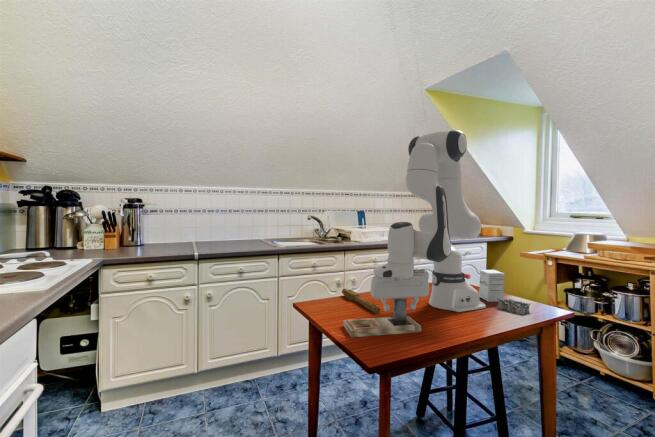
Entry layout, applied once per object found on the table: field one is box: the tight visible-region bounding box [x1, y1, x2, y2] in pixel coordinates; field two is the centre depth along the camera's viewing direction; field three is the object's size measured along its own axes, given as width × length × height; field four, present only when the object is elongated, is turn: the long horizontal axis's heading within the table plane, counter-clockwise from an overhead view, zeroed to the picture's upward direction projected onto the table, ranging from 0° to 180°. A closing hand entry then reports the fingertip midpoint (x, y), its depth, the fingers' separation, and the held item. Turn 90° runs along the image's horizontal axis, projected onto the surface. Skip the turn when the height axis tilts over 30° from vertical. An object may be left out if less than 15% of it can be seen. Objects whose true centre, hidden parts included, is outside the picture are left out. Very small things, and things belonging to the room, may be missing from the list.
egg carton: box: [497, 298, 532, 315], centre depth 136 cm, size 11×8×4 cm
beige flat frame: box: [343, 315, 422, 338], centre depth 115 cm, size 24×10×2 cm, turn 101°
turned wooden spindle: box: [341, 288, 381, 315], centre depth 144 cm, size 3×3×30 cm
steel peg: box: [392, 297, 408, 326], centre depth 116 cm, size 4×4×10 cm
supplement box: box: [478, 269, 505, 303], centre depth 150 cm, size 7×7×13 cm
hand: (399, 309), depth 116 cm, fingers open, 8 cm apart
